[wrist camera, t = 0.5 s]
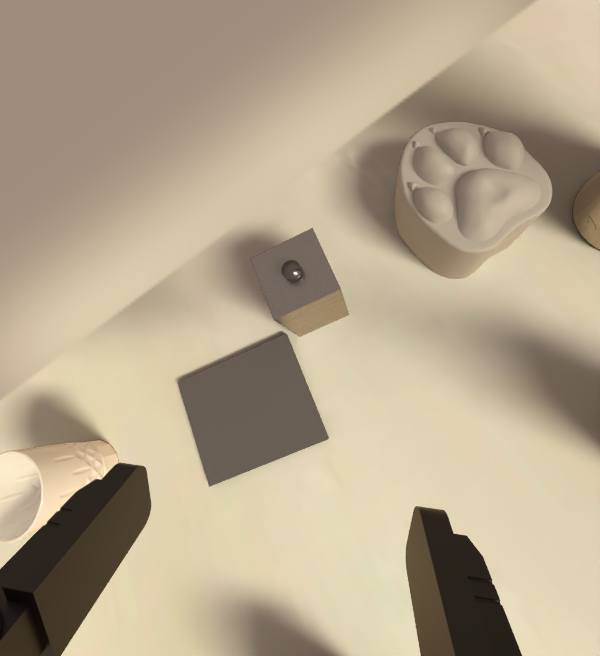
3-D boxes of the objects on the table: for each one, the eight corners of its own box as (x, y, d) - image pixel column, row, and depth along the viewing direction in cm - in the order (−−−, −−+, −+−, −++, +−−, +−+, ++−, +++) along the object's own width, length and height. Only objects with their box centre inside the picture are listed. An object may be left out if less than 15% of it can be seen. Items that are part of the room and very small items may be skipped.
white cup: (91, 422, 41) (4, 434, 31) (136, 458, 39) (57, 483, 29) (57, 478, 40) (-41, 507, 31) (101, 518, 38) (10, 563, 29)
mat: (287, 334, 37) (285, 333, 36) (328, 437, 34) (327, 439, 34) (181, 382, 39) (177, 382, 38) (212, 484, 36) (209, 486, 35)
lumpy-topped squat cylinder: (448, 291, 34) (472, 261, 26) (370, 206, 38) (370, 156, 29) (532, 229, 34) (585, 178, 25) (445, 148, 37) (466, 79, 29)
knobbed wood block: (327, 268, 37) (310, 222, 27) (349, 314, 36) (339, 285, 25) (280, 290, 38) (245, 254, 28) (299, 336, 37) (270, 317, 26)
